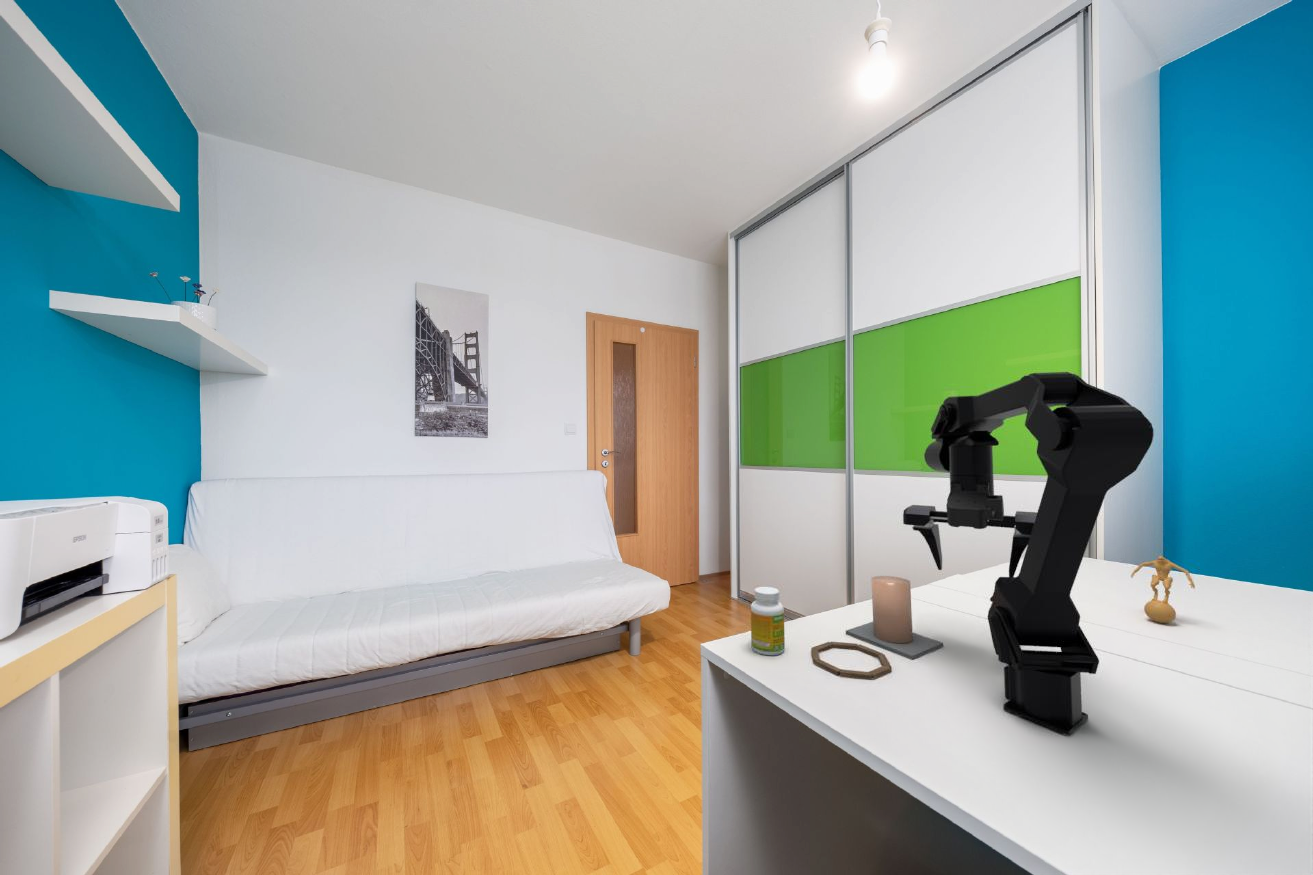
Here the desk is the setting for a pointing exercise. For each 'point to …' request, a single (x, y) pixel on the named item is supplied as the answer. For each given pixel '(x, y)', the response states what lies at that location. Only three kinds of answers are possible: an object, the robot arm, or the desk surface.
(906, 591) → the peach cylinder
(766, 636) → the supplement bottle
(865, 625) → the rubber mat
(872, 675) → the coaster ring
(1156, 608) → the figurine
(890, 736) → the desk surface
